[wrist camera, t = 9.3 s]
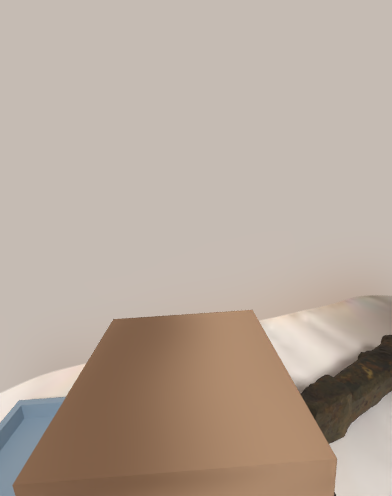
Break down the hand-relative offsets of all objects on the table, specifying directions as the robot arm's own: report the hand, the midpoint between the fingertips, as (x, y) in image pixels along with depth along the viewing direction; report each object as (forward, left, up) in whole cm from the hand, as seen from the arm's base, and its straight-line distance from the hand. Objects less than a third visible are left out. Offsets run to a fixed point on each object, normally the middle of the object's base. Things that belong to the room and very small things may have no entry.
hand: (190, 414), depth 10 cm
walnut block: (0, +3, -7) cm, 7 cm away
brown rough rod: (-16, -10, -12) cm, 22 cm away
